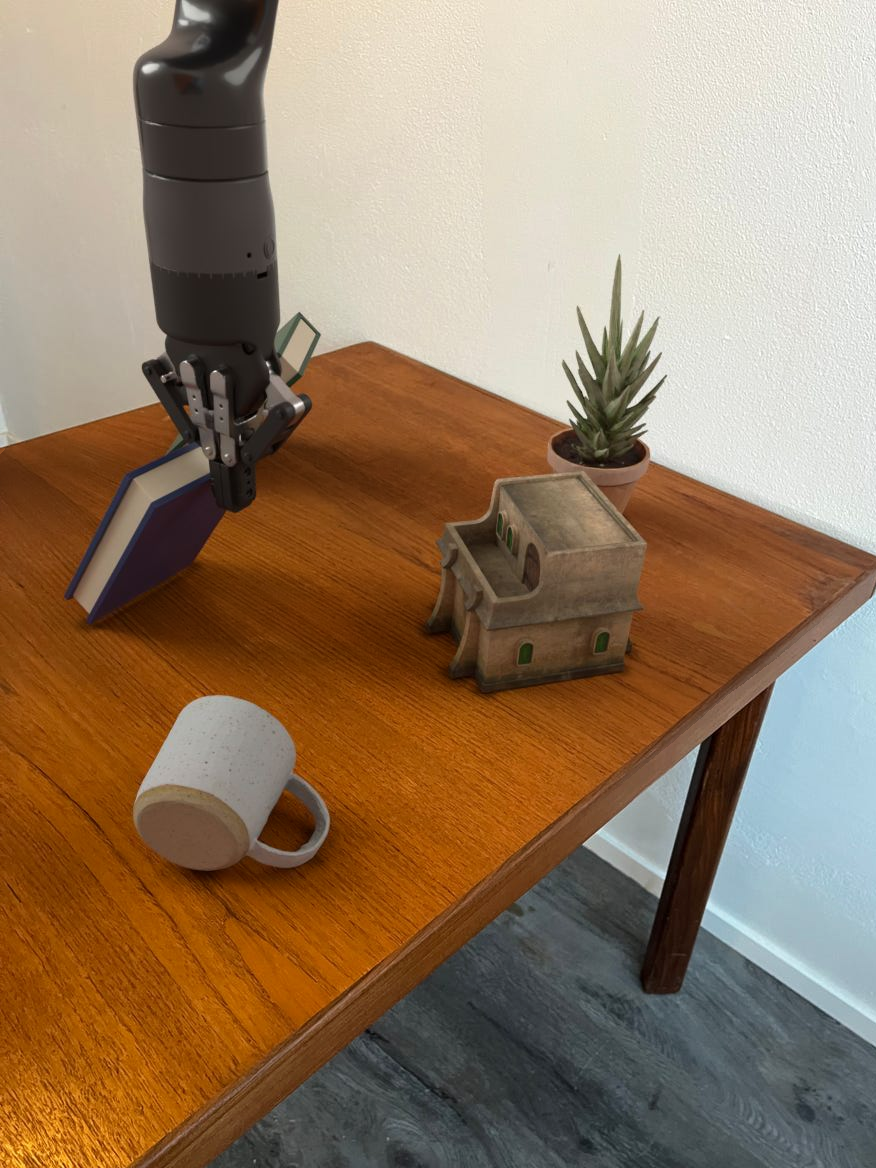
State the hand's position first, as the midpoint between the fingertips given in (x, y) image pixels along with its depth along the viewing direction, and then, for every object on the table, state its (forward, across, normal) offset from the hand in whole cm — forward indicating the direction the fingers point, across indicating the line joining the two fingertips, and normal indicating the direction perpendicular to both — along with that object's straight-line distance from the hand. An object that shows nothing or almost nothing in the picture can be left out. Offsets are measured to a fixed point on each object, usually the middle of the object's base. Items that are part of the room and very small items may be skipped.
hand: (235, 506), depth 70 cm
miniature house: (+12, +17, +14) cm, 25 cm away
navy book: (+5, -6, 0) cm, 8 cm away
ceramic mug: (+12, +12, -15) cm, 23 cm away
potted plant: (+12, +12, +35) cm, 39 cm away
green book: (+6, -19, +24) cm, 31 cm away
